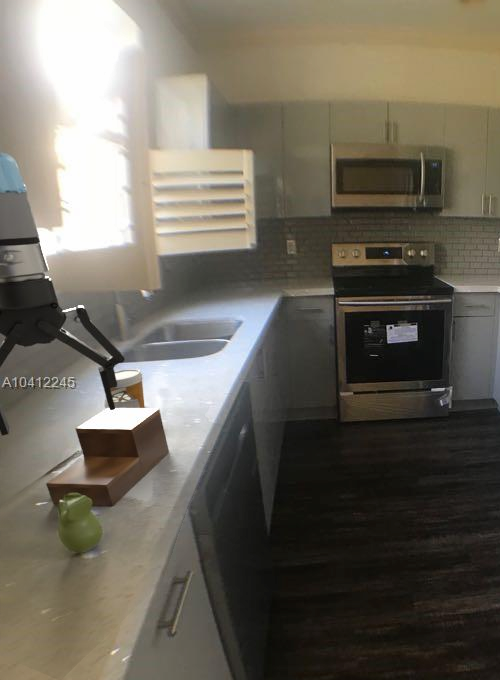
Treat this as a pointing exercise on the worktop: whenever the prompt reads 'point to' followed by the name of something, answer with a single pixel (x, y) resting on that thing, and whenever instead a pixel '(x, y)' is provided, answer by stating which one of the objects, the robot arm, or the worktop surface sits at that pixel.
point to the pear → (78, 523)
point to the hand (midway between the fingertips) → (61, 419)
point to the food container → (122, 399)
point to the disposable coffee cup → (130, 383)
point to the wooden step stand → (113, 455)
